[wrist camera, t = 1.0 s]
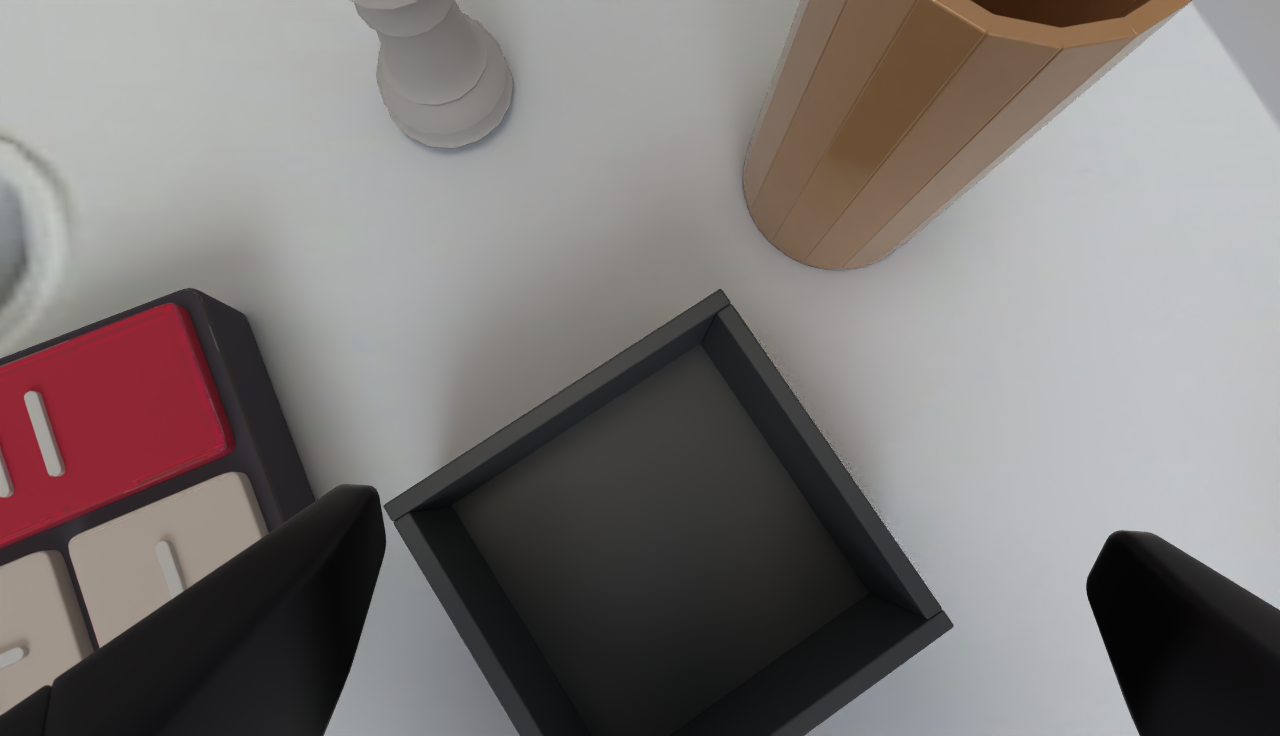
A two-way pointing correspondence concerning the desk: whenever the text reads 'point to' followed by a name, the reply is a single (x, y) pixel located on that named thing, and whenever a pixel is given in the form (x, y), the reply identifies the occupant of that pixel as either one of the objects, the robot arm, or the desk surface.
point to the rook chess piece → (438, 70)
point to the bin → (668, 551)
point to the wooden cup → (915, 109)
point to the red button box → (130, 475)
